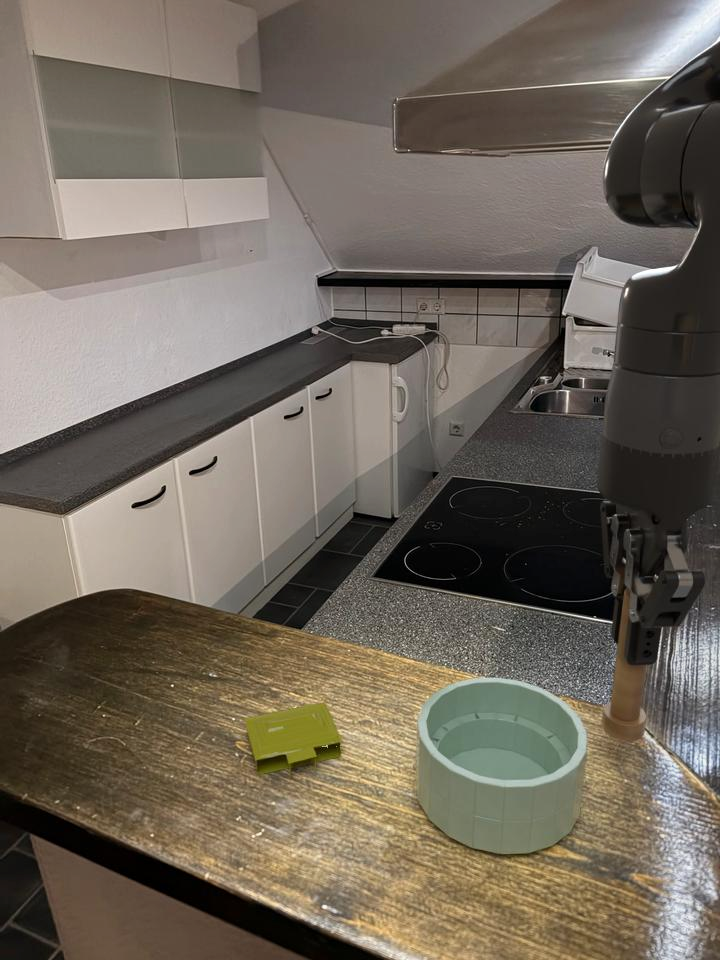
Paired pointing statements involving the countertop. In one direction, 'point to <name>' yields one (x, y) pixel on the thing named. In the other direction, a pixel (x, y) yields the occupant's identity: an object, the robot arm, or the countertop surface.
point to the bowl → (500, 764)
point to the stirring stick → (625, 690)
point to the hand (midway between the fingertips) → (632, 650)
